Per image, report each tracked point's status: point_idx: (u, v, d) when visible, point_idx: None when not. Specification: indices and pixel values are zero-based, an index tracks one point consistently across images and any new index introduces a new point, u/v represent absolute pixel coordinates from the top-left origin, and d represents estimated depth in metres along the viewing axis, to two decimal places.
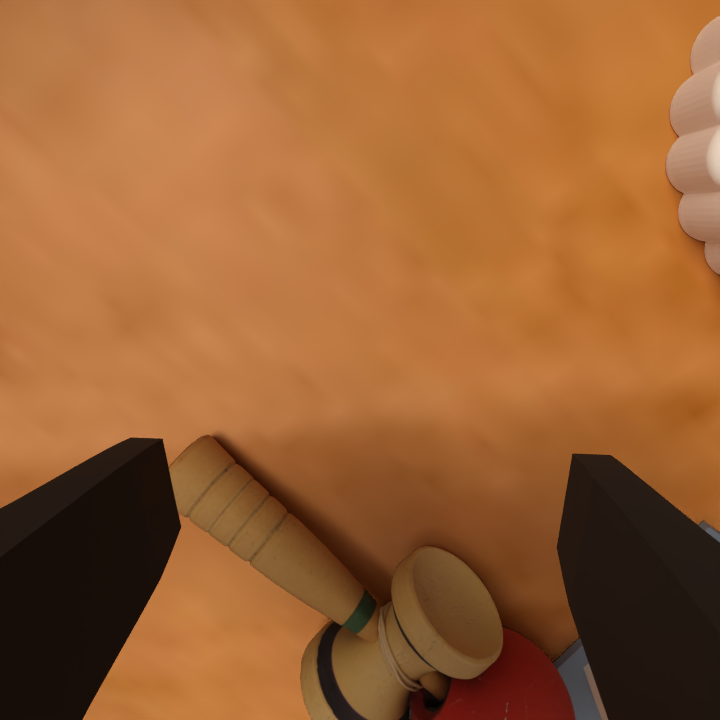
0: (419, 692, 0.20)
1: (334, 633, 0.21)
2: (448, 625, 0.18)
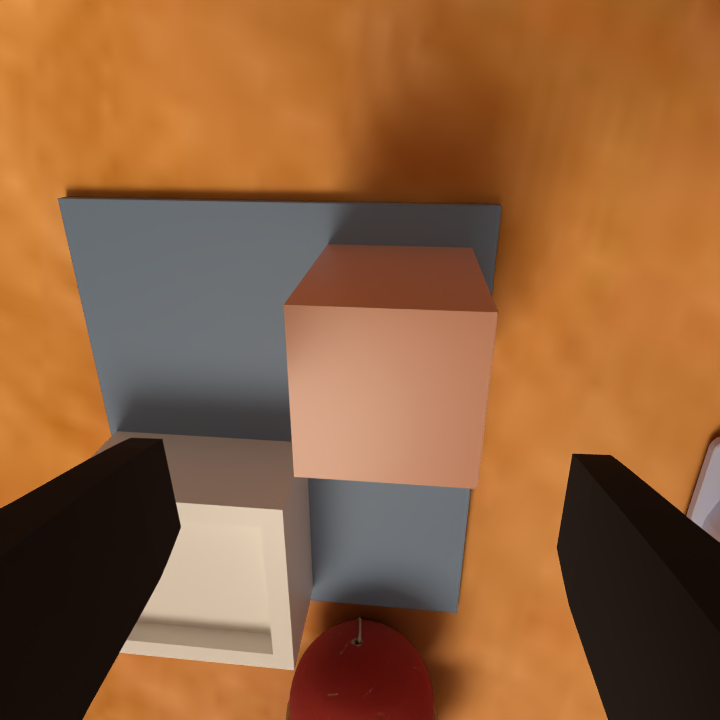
0: None
1: None
2: None
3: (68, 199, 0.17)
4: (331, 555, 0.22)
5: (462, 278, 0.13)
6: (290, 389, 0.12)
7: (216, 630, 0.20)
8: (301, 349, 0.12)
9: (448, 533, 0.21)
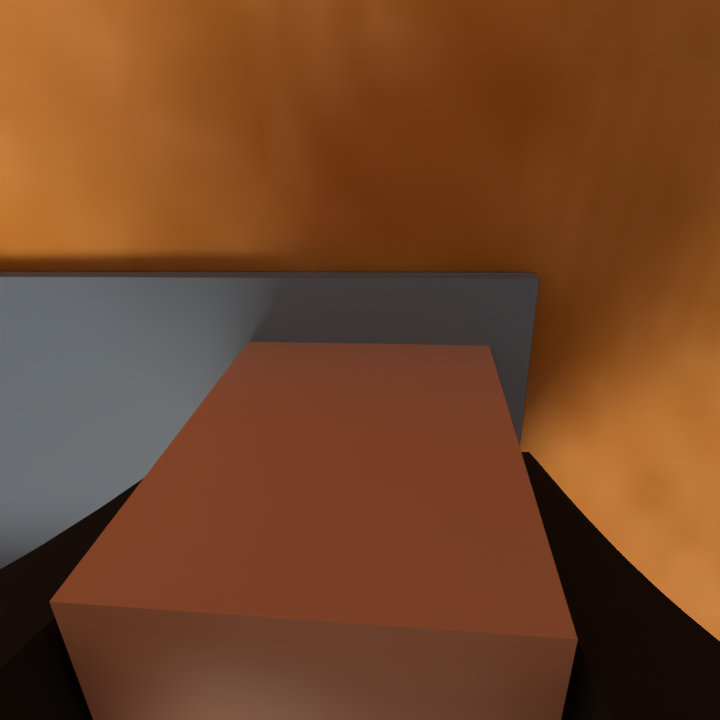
0: None
1: None
2: None
3: None
4: None
5: (477, 455, 0.07)
6: None
7: None
8: (112, 681, 0.05)
9: None
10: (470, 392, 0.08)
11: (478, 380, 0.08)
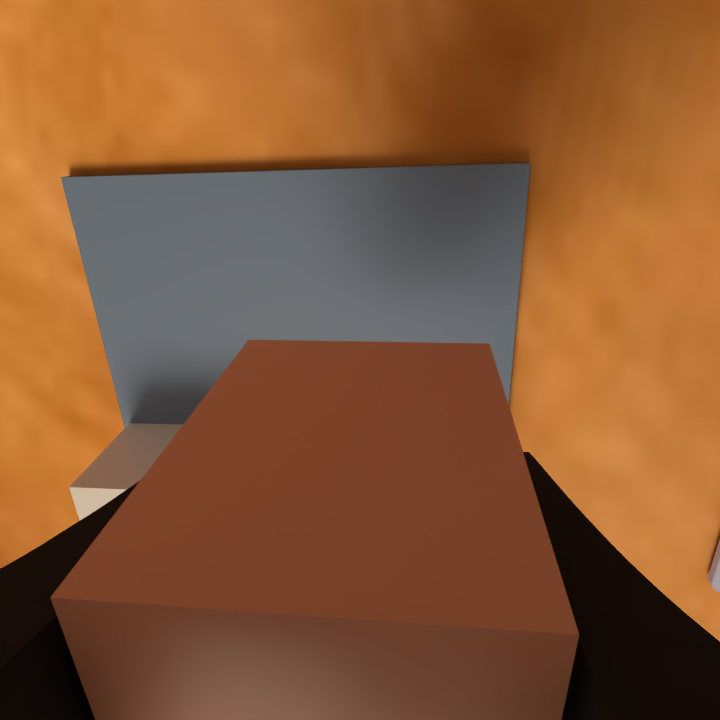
0: None
1: None
2: None
3: (72, 177, 0.16)
4: None
5: (478, 452, 0.07)
6: None
7: None
8: (112, 677, 0.05)
9: None
10: (471, 390, 0.08)
11: (479, 378, 0.08)
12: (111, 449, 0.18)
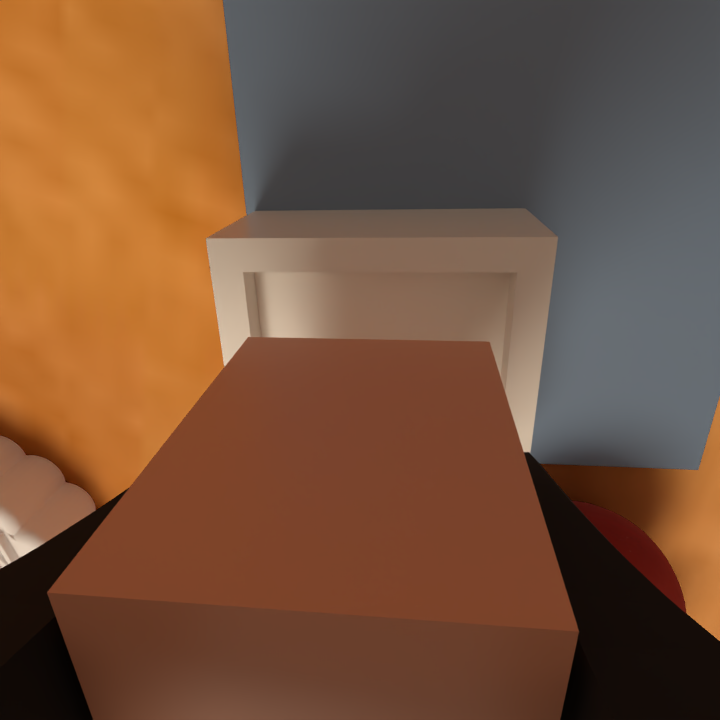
0: None
1: None
2: None
3: None
4: None
5: (478, 449, 0.07)
6: None
7: None
8: (110, 673, 0.05)
9: (709, 344, 0.15)
10: (471, 387, 0.08)
11: (479, 375, 0.08)
12: (244, 221, 0.14)
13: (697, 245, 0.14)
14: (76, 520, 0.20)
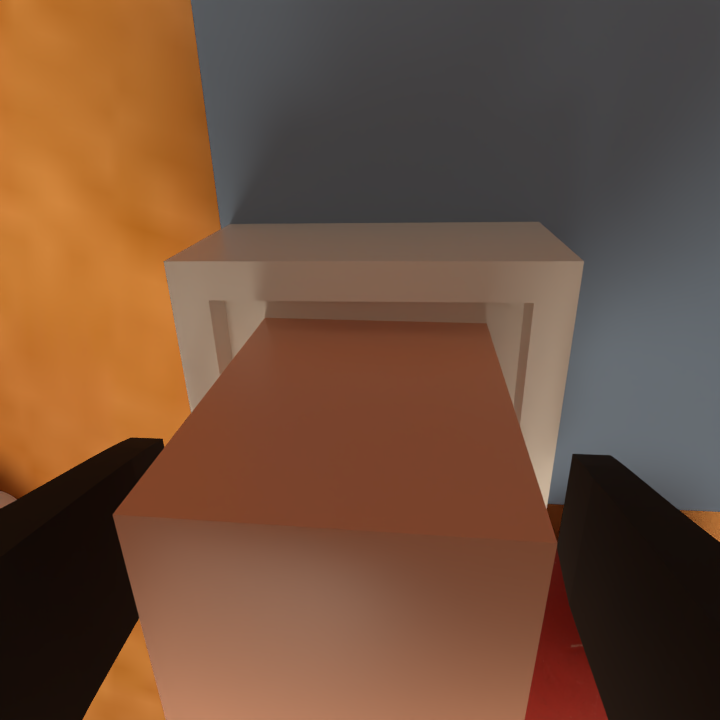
0: None
1: None
2: None
3: None
4: None
5: (475, 410, 0.07)
6: (150, 648, 0.06)
7: None
8: (161, 588, 0.06)
9: None
10: (469, 361, 0.09)
11: (476, 351, 0.09)
12: (214, 238, 0.12)
13: None
14: None
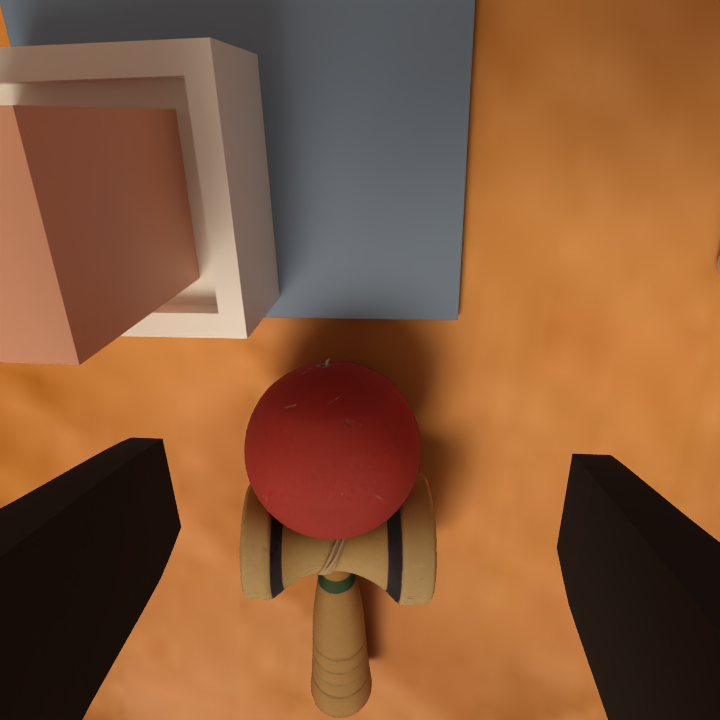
0: None
1: None
2: None
3: None
4: (298, 241, 0.18)
5: None
6: None
7: None
8: None
9: (443, 189, 0.17)
10: None
11: None
12: None
13: (413, 87, 0.16)
14: None
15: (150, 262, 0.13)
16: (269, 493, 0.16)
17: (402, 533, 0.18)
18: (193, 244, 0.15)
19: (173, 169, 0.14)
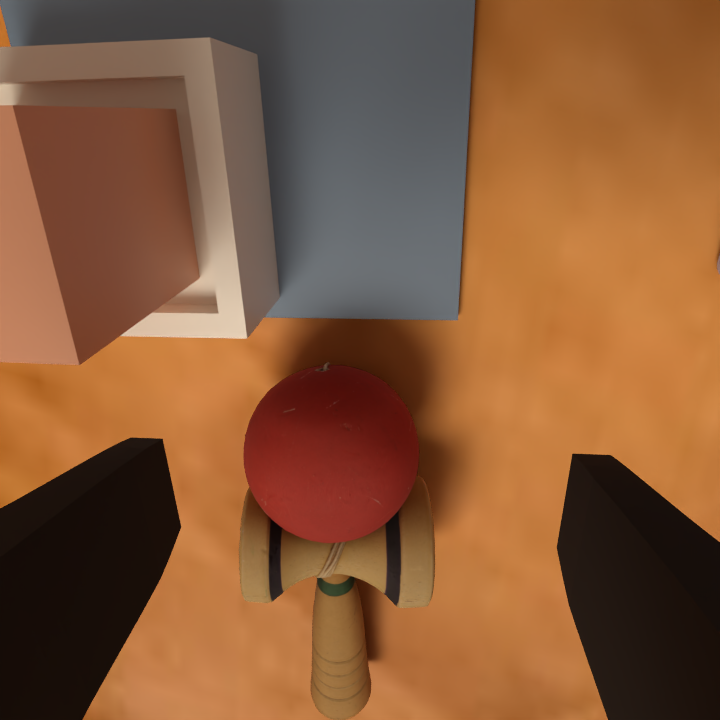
0: None
1: None
2: None
3: None
4: (298, 241, 0.18)
5: None
6: None
7: None
8: None
9: (443, 189, 0.17)
10: None
11: None
12: None
13: (413, 87, 0.16)
14: None
15: (150, 262, 0.13)
16: (268, 496, 0.16)
17: (400, 536, 0.18)
18: (193, 244, 0.15)
19: (173, 169, 0.14)
